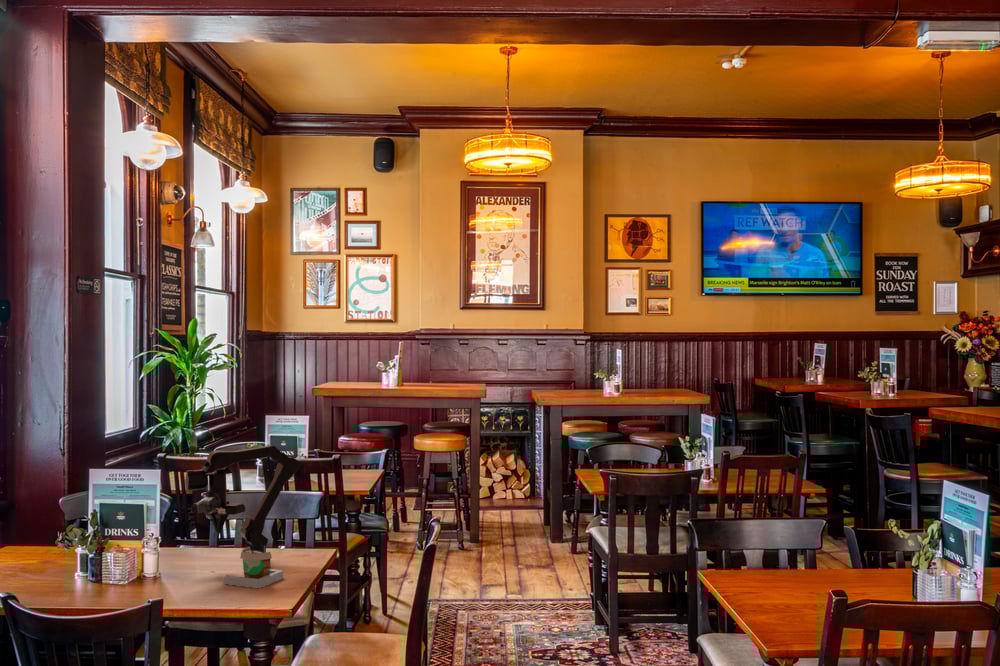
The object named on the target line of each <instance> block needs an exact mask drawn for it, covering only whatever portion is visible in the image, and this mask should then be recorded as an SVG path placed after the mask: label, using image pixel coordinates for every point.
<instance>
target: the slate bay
mask: <svg viewBox="0 0 1000 666" xmlns="http://www.w3.org/2000/svg"><path fill="white" fill-rule="evenodd" d="M282 579H283V580H284V570H282V569H273V568H270V575H267V576H264V577H262V578H259V579H255V578H246V577H244V576H238V575H237V576H236V575H226V574H225V575H224V576H223V585H224V584H231V585H230V586H232V585H238V586H237V587H241V586H246V587H245V588H249V587H252V588H251V589H257V588H260V589H262V588H264V587H267V586H269V585H271V584H273V583H276V582H278V581H280V580H282ZM266 585H267V586H266ZM261 587H262V588H261Z"/></svg>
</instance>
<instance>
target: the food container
mask: <svg viewBox="0 0 1000 666" xmlns="http://www.w3.org/2000/svg"><path fill="white" fill-rule="evenodd" d="M240 552H241V553H240V559H241V560H242V567H243V577H246V578H255V579H259V578H262V577H264V576H267V575H270V569H271V559H272V557H273V556H272V554H271V553H272V552H271V551H266V553H263V552H261V551H254V550H250V547H247V546H246V547H245V548H243V549H242V550H241V551H240Z"/></svg>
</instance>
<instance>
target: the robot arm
mask: <svg viewBox="0 0 1000 666" xmlns="http://www.w3.org/2000/svg"><path fill="white" fill-rule="evenodd" d="M264 458H270V459H271V460H272V461H273V462H274V463H276V464H277V465H276V467H275V470H274V471H275V472H274V476H273V479H272V481H271V483H269V486H268V488H267V489H266V491H265V493H264V495H263V497H262V499H261V500H260V502H259V504H258V506H257V507H256V510H255V511H254V513H252V515H251V516H250V517H249V516H248V515H246V516H244V520H243V522H242V523H241V524H240V525H239V526H240V527H241V528H240V531H239V533H240V536H241V537H242V538H243V539H245V541H246V543H247V546H246V548H247V547H250V550H254V551H261V552H263V553H266V552H267V545H268V543H269V539H268V538H267V537H266V536H265V535H264V534H263V531H264V528H265V524H266V519H267V517H268V515H269V514H270V512H271V510H272V508H273V506H274V504H275V503H276V501H277V499H278V497H279V495H280V493H281V492H282V490H283V488H284V486H285V484H286V483H287V482H288V481H289V480H290V479H291V478H292V477H293V476H294V475H295V474H296V473H297V471H298V470H299V467H300V464H299V461H298V459H296V458H295V457H292V456H289V455H287V454H285V453H284V452H282V451H281V450H280V449H278V448H277V447H276V446H274V445H272V444H266V445H263V446H257V447H251V448H244V449H238V450H223V449H221V450H219V449H218V450H212V451H210V452H209V453H208V455H207V457H206V462H205V463H204V464H203V465H202V466H201V468H200V469H195V470H194V469H193V470H192V469H189V470H186V474H185V479H184V487H185V491H186V492H189V491H199V490H205V488H206V487H207V486H208V490H207V491H206V493H205V496H204V497H203V498H202V499H201V500H199V501H197V502H195V503H192V505H191V506H190V510H191V511H190V512H191V513H198V514H202V513H203V514H204V515H205V516H207V517H208V518H209V519H210V521H211V522H212V525H213V527H214V530H215V532H216V533H217V534H220V533H221V532H222V531H223V528H224V525H225V523H226V521H227V519H228V517H229V516H230V515H233V516H234V515H237V514H241V513H244V512H246V505H245V504H244V503H242V502H241V503H240V502H234V503H230V501H229V500H227V497H228V496H227V495H228V494H227V493H230V489H229V488H227V474H228V475H229V474H233V470H231V469H230V468H229V466H231V465H233V464H236V463H239V462H245V461H252V460H258V459H264Z"/></svg>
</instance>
